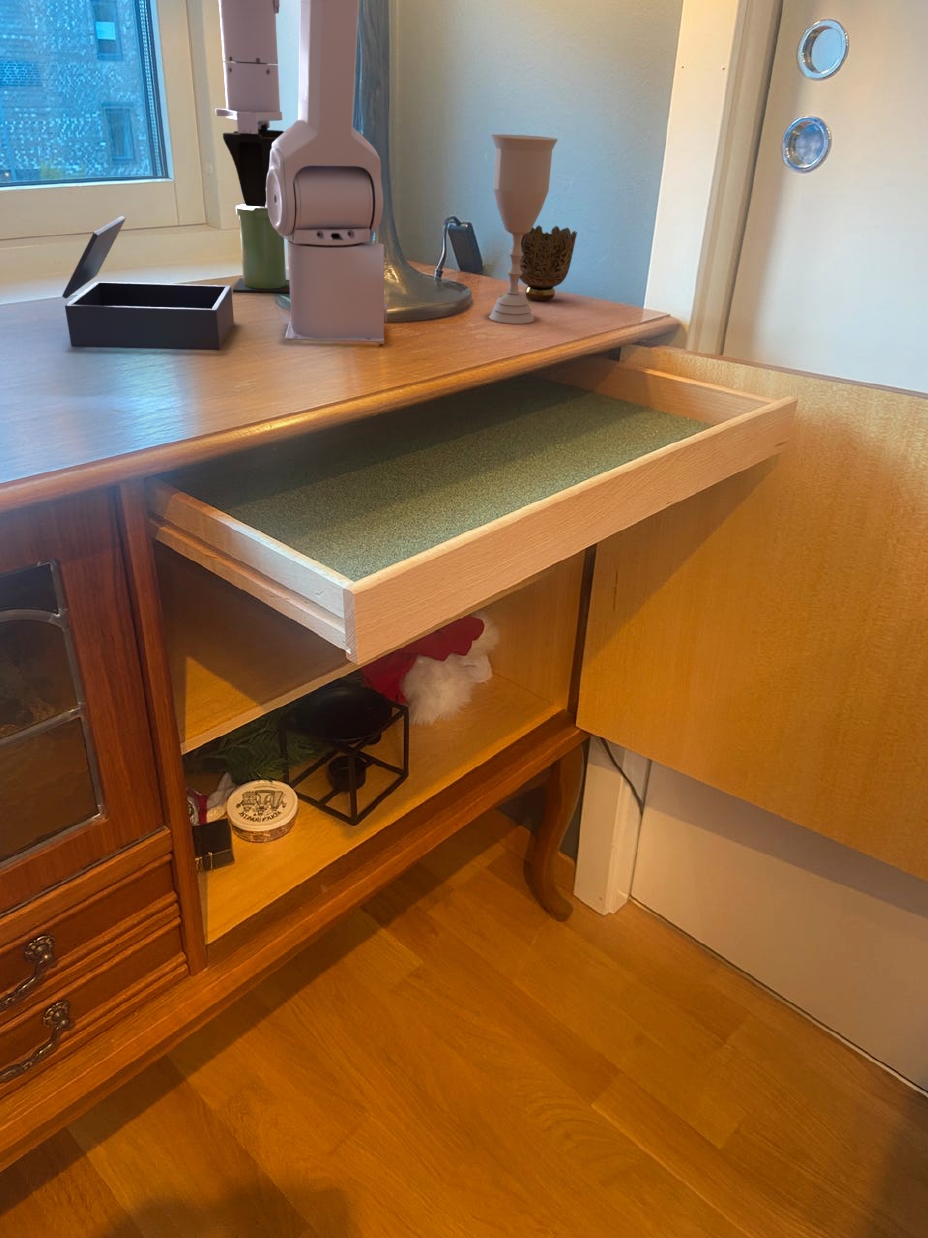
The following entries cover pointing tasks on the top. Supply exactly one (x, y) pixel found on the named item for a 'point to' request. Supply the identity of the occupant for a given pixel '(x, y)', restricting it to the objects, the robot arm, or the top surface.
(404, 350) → the top surface
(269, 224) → the pot
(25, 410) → the top surface
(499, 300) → the chalice
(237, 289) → the mat
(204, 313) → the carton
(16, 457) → the top surface
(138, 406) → the top surface
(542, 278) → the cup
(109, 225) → the flap
